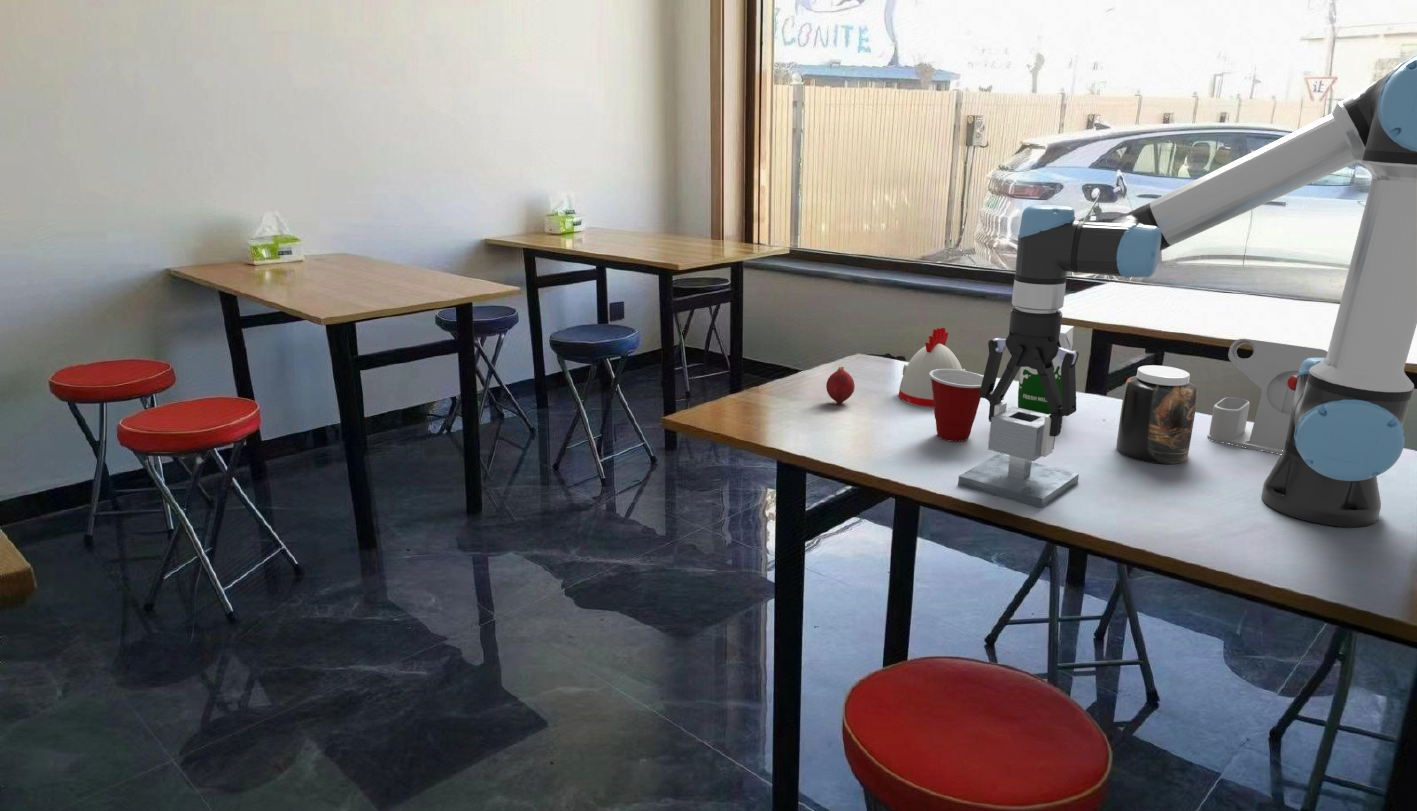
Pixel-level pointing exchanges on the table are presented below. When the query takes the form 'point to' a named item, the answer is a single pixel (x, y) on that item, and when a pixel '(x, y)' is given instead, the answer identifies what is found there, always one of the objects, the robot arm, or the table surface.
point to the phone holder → (1275, 406)
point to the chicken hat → (926, 369)
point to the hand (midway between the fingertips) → (1021, 447)
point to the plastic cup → (955, 402)
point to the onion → (840, 385)
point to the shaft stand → (1019, 480)
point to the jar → (1157, 415)
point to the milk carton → (1030, 381)
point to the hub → (1017, 433)
